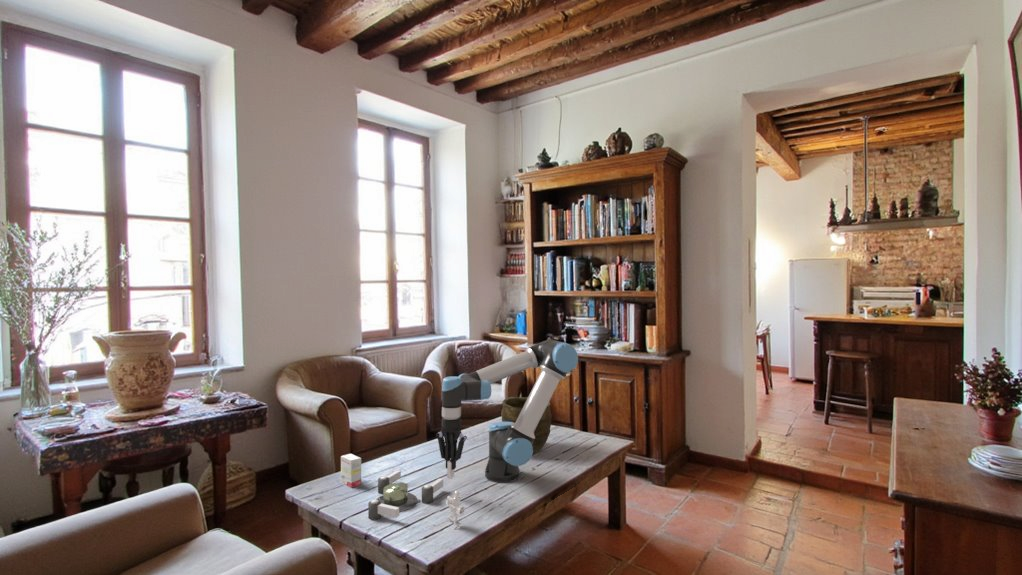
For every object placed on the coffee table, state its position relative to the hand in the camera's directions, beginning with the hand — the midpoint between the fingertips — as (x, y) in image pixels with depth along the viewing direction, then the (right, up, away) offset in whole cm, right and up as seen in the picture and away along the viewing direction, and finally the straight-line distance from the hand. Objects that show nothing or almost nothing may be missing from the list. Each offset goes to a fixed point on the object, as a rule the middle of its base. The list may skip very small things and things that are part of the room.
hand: (450, 477), depth 188 cm
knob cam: (-22, -8, -17) cm, 29 cm away
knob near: (-7, -8, 0) cm, 10 cm away
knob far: (-26, -8, +8) cm, 28 cm away
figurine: (+4, -9, -21) cm, 23 cm away
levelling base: (-22, -9, -8) cm, 24 cm away
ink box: (-43, -9, +13) cm, 46 cm away
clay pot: (+31, -8, +53) cm, 62 cm away
